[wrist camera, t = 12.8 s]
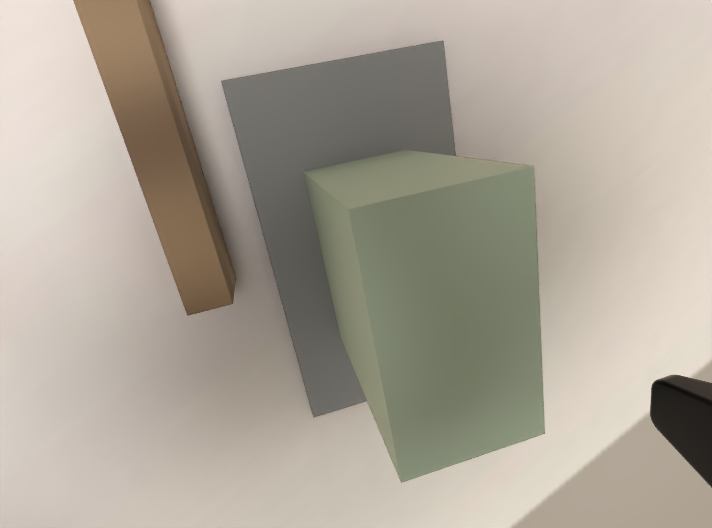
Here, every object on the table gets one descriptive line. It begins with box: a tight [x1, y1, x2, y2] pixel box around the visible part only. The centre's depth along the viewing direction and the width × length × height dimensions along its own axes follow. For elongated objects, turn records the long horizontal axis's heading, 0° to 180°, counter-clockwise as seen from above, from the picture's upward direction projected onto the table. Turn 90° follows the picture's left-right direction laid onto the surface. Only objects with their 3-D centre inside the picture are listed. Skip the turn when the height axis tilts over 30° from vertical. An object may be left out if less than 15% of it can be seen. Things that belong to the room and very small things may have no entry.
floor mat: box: [221, 41, 456, 417], centre depth 17 cm, size 14×8×1 cm, turn 11°
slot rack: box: [73, 0, 236, 315], centre depth 13 cm, size 10×11×2 cm
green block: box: [304, 150, 545, 483], centre depth 13 cm, size 4×7×8 cm, turn 10°
